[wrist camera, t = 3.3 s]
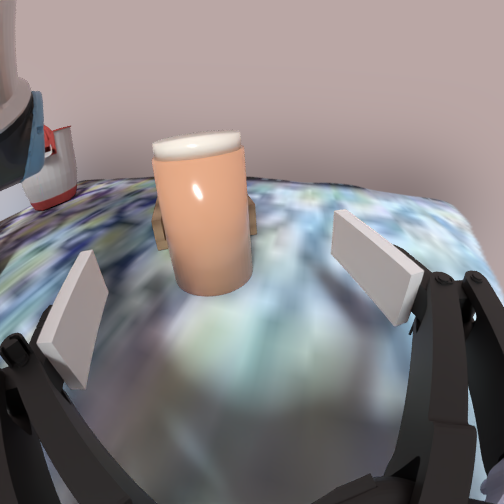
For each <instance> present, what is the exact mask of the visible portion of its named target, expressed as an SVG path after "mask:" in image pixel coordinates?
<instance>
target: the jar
mask: <svg viewBox="0 0 504 504" xmlns="http://www.w3.org/2000/svg"><path fill="white" fill-rule="evenodd" d="M152 146H153V153H154V158H153V159H152V165H153V171H154V177H155V183H156V189H157V194H158V200H159V205H160V210H161V215H162V220H163V225H164V230H165V235H166V239H167V244H168V248H169V253H170V257H171V261H172V266H173V270H174V274H175V278H176V282H177V284H178V286H179V287H180V288H181V289H182V290H184V291H185V292H187V293H190V294H193V295H197V296H217V295H223V294H226V293H230V292H232V291H235V290H236V289H238V288H240V287H242V286H243V285H244V284H245V283H247V281H248V280H249V279H250V277H251V275H252V272H253V269H252V255H251V240H250V226H249V212H248V198H247V183H246V170H245V156H244V146H242V145H241V136H240V131H237V130H218V131H206V132H197V133H190V134H184V135H179V136H174V137H170V138H165V139H162V140H159V141H156V142H154V143H152Z"/></svg>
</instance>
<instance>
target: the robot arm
mask: <svg viewBox="0 0 504 504" xmlns="http://www.w3.org/2000/svg"><path fill="white" fill-rule="evenodd" d="M15 11H16V0H0V191H2V190H4V189H6V188H9V187H11V186H13V185H15V184H18V183H22V182H23V181H24V180H25V179H27V178H29V177H31V176H33V175H35V174H37V173H39V172H40V171H41V169H42V168H43V166H44V162H45V139H44V130H43V128H44V124H43V122H44V117H43V100H42V94H41V92H40V91H36V92H35V91H32V92H31V88H30V85H29V83H28V82H27V81H26V80H25V79H23V78H21V77H18V75H17V65H16V48H15V14H16V13H15ZM331 254H332V255H333V257H334V258H335V259H336V260H337V261H338V262H339V263H340V264H341V265H342V266H343V268H344V269H345V270H346V271H347V272H348V273H349V274H350V275H351V276H352V278H353V279H354V280H355V281H356V282H357V283H358V284H359V286H360V287H361V288H362V289H363V290H364V291H365V292H366V294H367V295H368V296H369V297H370V298H371V299H372V300H373V302H374V303H375V304H376V305H377V306H378V307H379V309H380V310H381V311H382V312H383V313H384V315H385V316H386V317H387V318H388V319H389V321H390V322H391V323H392V324H393V325H394V327H396V326H398V325H401V324H403V323H406V322H407V321H408V319H409V316H410V313H411V312H412V313H413V314H414V315H415V316H416V317H415V319H414V322H413V325H412V327H411V329H410V332H409V335H411V333H412V332H413V339H412V352H411V362H410V371H409V379H408V387H407V393H406V400H405V406H404V411H403V416H402V422H401V426H400V431H399V436H398V440H397V444H396V448H395V452H394V454H393V457H392V458H391V460H390V462H389V464H388V466H387V468H386V470H385V473H384V476H382V477H374V478H372V476H371V474H368V475H366V476H363V477H361V478H359V479H357V480H354V481H352V482H350V483H347V484H345V485H342V486H340V487H337V488H336V489H334V490H333V491H331V492H330V493H328V494H326V495H325V496H323V497H322V498H320V499H318V500H317V501H315V502H313V503H312V504H504V307H503V305H502V303H501V302H500V300H499V298H498V297H497V295H496V293H495V292H494V290H493V288H492V287H491V285H490V284H489V282H488V280H487V279H486V278H485V277H484V276H483V275H482V274H481V273H479V272H477V271H467V272H466V273H465V276H464V279H463V280H459V281H454V279H453V278H452V277H451V276H449V275H448V274H446V273H443V272H433V273H432V272H431V271H429V270H428V269H427V268H426V267H425V266H423V265H422V264H421V263H420V262H419V261H417V260H415V258H414V257H413V256H411V255H410V254H409V253H408V252H406V251H405V250H404V249H402V248H400V247H398V246H396V245H392V244H391V243H390V242H389V241H387V240H386V239H385V238H383V237H382V236H381V235H380V234H378V233H377V232H376V231H374V230H373V229H372V228H370V227H369V226H368V225H366V224H365V223H364V222H362V221H361V220H360V219H358V218H357V217H356V216H354V215H353V214H352V213H350V212H349V211H347V210H346V209H344V210H336V211H334V221H333V235H332V247H331ZM108 293H109V292H108V289H107V287H106V284H105V282H104V279H103V277H102V274H101V271H100V268H99V266H98V263H97V260H96V257H95V254H94V251H93V250H88V251H83V252H80V254H79V256H78V258H77V259H76V261H75V263H74V265H73V266H72V268H71V270H70V272H69V274H68V276H67V278H66V280H65V281H64V283H63V285H62V287H61V289H60V291H59V293H58V295H57V297H56V299H55V301H54V304H53V305H49V306H48V308H47V309H46V310H45V311H44V312H43V314H42V316H41V318H40V320H39V322H38V325H37V327H36V328H37V329H35V331H34V334H33V336H32V338H31V341H30V343H29V344H28V343H27V341H26V340H25V338H24V337H23V335H22V334H20V333H14V334H11V335H9V336H8V337H7V338H6V339H5V340H4V341H3V342H2V344H1V346H0V355H1V357H2V358H3V359H4V360H5V362H6V363H7V364H8V366H9V367H6V368H3V369H0V504H61V502H60V500H59V497H58V495H57V492H56V490H55V487H54V485H53V482H52V479H51V476H50V473H49V470H48V467H47V464H46V461H45V457H44V454H43V451H42V447H41V443H42V445H43V447H44V449H45V451H46V452H47V454H48V456H49V458H50V460H51V461H52V463H53V465H54V466H55V468H56V470H57V471H58V473H59V475H60V476H61V478H62V479H63V481H64V482H65V484H66V485H67V487H68V488H69V490H70V491H71V493H72V494H73V496H74V497H75V498H76V500H77V501H78V503H79V504H157V503H156V502H155V501H154V500H153V499H152V498H151V497H150V496H149V495H147V494H146V493H145V492H144V491H143V490H142V489H141V488H140V487H139V486H138V485H137V484H136V483H135V482H134V481H133V480H132V478H131V477H130V476H129V475H128V474H127V473H126V472H125V471H124V470H123V469H122V468H121V467H120V465H119V464H118V463H117V462H116V461H115V460H114V458H113V457H112V456H111V455H110V454H109V453H108V451H107V450H106V449H105V448H104V446H103V445H102V444H101V443H100V441H99V440H98V439H97V437H96V436H95V435H94V433H93V432H92V431H91V429H90V428H89V427H88V425H87V424H86V422H85V421H84V420H83V418H82V417H81V415H80V414H79V412H78V411H77V409H76V408H75V406H74V405H73V403H72V402H71V400H70V398H69V397H68V395H67V394H66V392H65V391H64V390H63V389H62V387H63V383H64V382H65V383H66V384H67V385H68V387H69V388H70V389H86V386H87V380H88V374H89V369H90V364H91V359H92V355H93V350H94V346H95V341H96V337H97V333H98V329H99V325H100V321H101V317H102V314H103V310H104V306H105V303H106V299H107V296H108ZM475 312H476V320H475V321H474V319H473V316H474V314H475ZM468 387H469V391H470V395H471V399H472V404H473V408H474V413H475V418H476V424H477V429H478V436H479V442H480V449H481V455H482V461H483V464H484V468H485V472H486V474H487V479H486V480H484V481H483V482H482V484H481V487H480V490H481V493H482V494H484V495H487V496H486V500H485V502H484V501H479V500H475V499H470V498H469V494H470V489H471V483H472V477H473V470H474V462H475V453H476V441H477V432H476V428H475V426H472V425H469V424H468ZM40 441H41V443H40Z"/></svg>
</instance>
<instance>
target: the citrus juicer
mask: <svg viewBox="0 0 504 504" xmlns="http://www.w3.org/2000/svg"><path fill="white" fill-rule="evenodd" d="M70 127H71V126H67V127H63V128H59V129H56V130H53V131H51V130H50V129H49V128H48V127H47V126H45V125H44V128H43V130H44V139H45V162H44V166H43V168H42V169H41V171H40V172H39V173H37V174H35V175H33V176H31V177H29V178H27V179H25V180H24V181H23V182H22V186H23V189H24V191H25V194H26V196H27V197H28V199H29V201H30V203H31V205H32V206H33V207H34V209H35V210H41V211H44V210H46V209H48V208H50V207H52V206H55V205H57V204H60V203H62V202H65V201H68V200H70V199H71V197H73V196H74V195H75V194H76V189H77V167H76V160H75V155H74V149H73V143H72V137H71V130H70Z"/></svg>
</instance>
